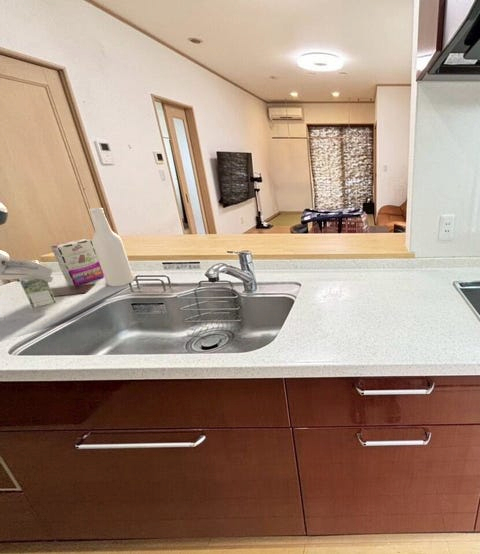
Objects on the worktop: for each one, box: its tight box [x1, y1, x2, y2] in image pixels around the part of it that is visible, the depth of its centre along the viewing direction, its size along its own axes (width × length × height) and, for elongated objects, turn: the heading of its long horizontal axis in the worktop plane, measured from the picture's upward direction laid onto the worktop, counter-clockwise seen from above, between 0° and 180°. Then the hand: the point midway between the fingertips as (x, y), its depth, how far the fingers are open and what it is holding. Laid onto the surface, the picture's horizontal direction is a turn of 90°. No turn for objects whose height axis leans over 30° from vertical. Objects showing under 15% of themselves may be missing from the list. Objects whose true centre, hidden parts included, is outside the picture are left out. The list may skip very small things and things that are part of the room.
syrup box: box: [19, 259, 57, 309], centre depth 97 cm, size 6×6×14 cm
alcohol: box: [88, 207, 135, 287], centre depth 115 cm, size 9×9×30 cm
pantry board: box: [50, 282, 96, 298], centre depth 112 cm, size 14×9×1 cm, turn 112°
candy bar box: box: [50, 238, 105, 286], centre depth 119 cm, size 11×5×16 cm, turn 163°
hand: (35, 280), depth 97 cm, fingers closed on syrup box, 8 cm apart
